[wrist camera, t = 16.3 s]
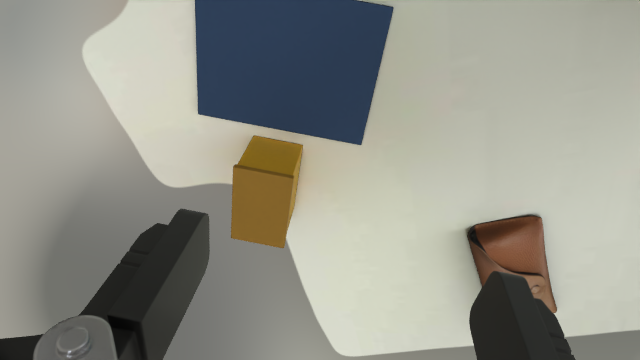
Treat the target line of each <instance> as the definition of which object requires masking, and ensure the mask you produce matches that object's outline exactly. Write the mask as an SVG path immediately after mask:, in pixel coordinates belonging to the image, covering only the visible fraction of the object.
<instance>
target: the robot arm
mask: <svg viewBox="0 0 640 360" xmlns="http://www.w3.org/2000/svg"><path fill="white" fill-rule="evenodd" d="M209 251H210V250H209V216H208V214H206V213H201V212H196V211H191V210H186V209H180V210H179V211H178V212H177V213H176V214H175V216H174V217H173V219H172V220H171V222H170V223H169V225H165V224H159V223H157V224H155V225H154V226H152V227H151V228H149V229H148V230H146V231H145V232H143V233H142V234H140V236H139V237H138V238H137V240H136V241H135V242H134V244H133V245H132V246H131V248H130V251H129V252H127V253H126V254H125V256H124V257H123V258H122V260H121V263H120V264H118V265H117V266H116V268H115V269H114V270H113V272H112V273H111V274H110V276H109V277H108V278H107V280H106V281H105V282H104V284H103V285H102V286H101V288H100V289H99V290H98V292H97V293H96V294H95V296H94V297H93V298H92V300H91V301H90V302H89V304H88V305H87V306H86V307H85V309H84V310H83V311H82V312H81V314H79V315H78V316H75V317H71V318H68V319H66V320H63V321H62V322H59V323H58V324H56V325H55V326H53V327H52V328H50V329H49V330H48V331H47V332H46V333H45V334H41V335H35V336H26V337H16V338H5V339H0V360H163V358H164V355H165V354H166V351H167V349H168V347H169V345H170V343H171V341H172V339H173V337H174V335H175V333H176V331H177V329H178V327H179V325H180V323H181V321H182V319H183V317H184V315H185V313H186V310H187V308H188V306H189V304H190V302H191V300H192V298H193V296H194V294H195V292H196V290H197V288H198V286H199V284H200V282H201V280H202V277H203V276H204V273H205V271H206V268H207V265H208V260H209ZM469 322H470V330H471V334H472V339H473V343H474V347H475V352H476V356H477V360H575V358H574V356H573V355H571V349H570V347H569V344H568V342H567V340H566V339H564V333H563V331H562V329H561V327H560V324H559V322H558V320H557V318H556V316H555V315H554V314H553V313H552V311H551V310H550V309H549V308H548V307H547V306H546V304H545V303H544V302H543V301H542V300H541V299H537V298H534V296H533V294H532V292H531V289H530V287H529V284H528V282H527V280H526V279H525V278H524V277H523V276H520V275H514V274H509V273H504V272H499V271H493V272H492V273H491V274H490V275H489V277H488V279H487V280H486V282H485V284H484V286H483V287H482V289H481V291H480V293H479V294H478V296H477V298H476V300H475V302H474V303H473V305H472V308H471V311H470V320H469Z"/></svg>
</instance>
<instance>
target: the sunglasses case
mask: <svg viewBox="0 0 640 360" xmlns="http://www.w3.org/2000/svg"><path fill="white" fill-rule="evenodd" d="M467 237H468V240H469V244H470V248H471V251H472V255H473V258H474V262H475V265H476V268H477V271H478V274H479V278H480V281H481V284H482V287H483V286H484V284H485V282H486V280H487V279H488V277H489V275H490V274H491V273H492V272H493V271H499V272H504V273H509V274H514V275H520V276H523V277H524V278H525V279H526V280H527V282H528V284H529V287H530V289H531V292H532V294H533V296H534V298H537V299H541V300H542V301H543V302H544V303H545V304H546V306H547V307H548V308H549V309H550V310H551V311H552V313H556V311H557V307H556V304H555V300H554V298H553V294H552V289H551V285H550V279H549V273H548V267H547V261H546V255H545V246H544V232H543V224H542V218H541V217H538V216H524V217H514V218H508V219H502V220H497V221H491V222H486V223H481V224H477V225H475V226H473V227H472V228H471V229H470V230H469V232H468V233H467Z"/></svg>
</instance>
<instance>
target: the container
mask: <svg viewBox="0 0 640 360" xmlns="http://www.w3.org/2000/svg"><path fill="white" fill-rule="evenodd" d="M302 148H303V145H300V144H295V143H289V142H284V141H279V140H274V139H268V138H263V137H258V136H253V138H252V140H251V141H250V143H249V145H248V147H247V148H246V150H245V152H244V154H243V156H242V157H241V159H240V161H239V163H238V164H235V165H234V167H233V192H232V223H231V238H233V239H238V240H244V241H249V242H254V243H259V244H265V245H269V246H274V247H279V248H284V246H285V241H286V234H287V230H288V227H289V223H290V220H291V216H292V213H293V209H294V204H295V197H296V190H297V183H298V176H299V169H300V162H301V155H302Z"/></svg>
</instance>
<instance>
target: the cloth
mask: <svg viewBox="0 0 640 360" xmlns="http://www.w3.org/2000/svg"><path fill="white" fill-rule="evenodd" d="M392 12H393V7H390V6H385V5H379V4H374V3H368V2H363V1H357V0H195V17H196V54H197V90H198V114H200V115H205V116H211V117H216V118H221V119H226V120H232V121H237V122H242V123H247V124H253V125H258V126H263V127H268V128H274V129H279V130H284V131H289V132H295V133H300V134H305V135H310V136H316V137H321V138H326V139H331V140H337V141H342V142H347V143H352V144H358V145H361V143H362V139H363V135H364V130H365V126H366V122H367V118H368V114H369V109H370V105H371V101H372V97H373V93H374V88H375V84H376V80H377V76H378V71H379V67H380V63H381V59H382V55H383V50H384V46H385V42H386V38H387V34H388V29H389V25H390V21H391V17H392Z"/></svg>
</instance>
